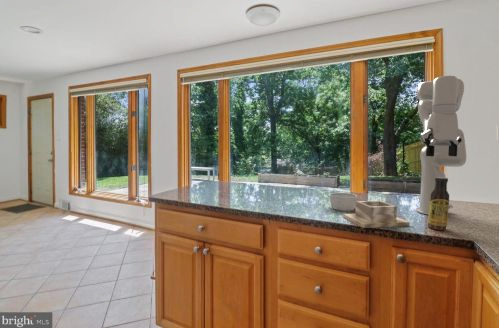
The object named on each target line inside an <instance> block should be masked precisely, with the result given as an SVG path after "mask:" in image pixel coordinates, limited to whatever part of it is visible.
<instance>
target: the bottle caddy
mask: <svg viewBox="0 0 499 328" xmlns="http://www.w3.org/2000/svg"><path fill="white" fill-rule="evenodd" d="M397 208H398V206H397V205H394V204H392V203H391V204H390V203H389V202H385V201H382V200H362V201H361V200H360V201H358V200H356V207H355V209H354V210H355V211H354V213H344V214H343V218H344V219H345V220H347V221H349V222H351V223H354V224H355V225H357V226H359V227H360V228H362V229H372V228H373V229H374V228H375V229H377V228H389V227H390V228H391V227H392V228H393V227H410V225H411V222H410V221H408V220H406V219H403V218H401V217H398V216H397V211H398V210H397Z"/></svg>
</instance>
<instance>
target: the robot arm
mask: <svg viewBox="0 0 499 328" xmlns="http://www.w3.org/2000/svg"><path fill="white" fill-rule="evenodd" d="M464 93H465V84H464V81H463V80H462V79H460V78H458V77H457V76H455V75H442V76H438V77H436V78H434V79H433V80H430V81H429V80H428V81H422V82H419V83H418V85H417V89H416V97H417V100H418V101H419V102H418V104H417V111H418V117H419V119H420V122H421V124H422V126H423V131H422V132H421V133H420V137H421V139H422V142H423V144H424V147H422V148H421V150H420V153H419V155H420V156H419V157H420V164H421V180H420V201H419V203H420V204H419V207H416V209H415V211H416V212H417V213H420V214H423V215H427V216H428V215H429V204H430V198H431V193H432V192H433V190H434V189H435V177H443V178H447V177H446V174H445V173H444V171H443V170H442V169H440V167H452V168H453V167H454V168H456V167H457V168H459V167H463V166H464V165H465V164H466V163H467V147H466V140H465V139H466V138H465V134H464V131H463V130H462V129H460V128H459V120H458V115H457V112H458V111H459V110H460V107H461V105H462V100H463V96H464ZM453 208H454V206H453V204H452V203H451V204H450V203H449V209H450V210H451V209H453Z"/></svg>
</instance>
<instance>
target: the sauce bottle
mask: <svg viewBox="0 0 499 328" xmlns="http://www.w3.org/2000/svg"><path fill="white" fill-rule="evenodd" d="M448 182H449V178H448V177H446V178H443V177H435V189H434V190H433V192H432V193H431V198H430V204H429V215H427V216H428V218H427V223H428V224H427V226H428V228H429V229H432V230H435V231H445V230H446V229H447V226H448V217H449V205H450V194H449V192H448V187H447V186H448Z"/></svg>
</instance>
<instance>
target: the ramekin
mask: <svg viewBox="0 0 499 328" xmlns="http://www.w3.org/2000/svg"><path fill="white" fill-rule="evenodd" d="M329 198H330V199H329V200H330V201H329V202H330V207H331V208H332V209H333V210H335V211H342V212H350V211H351V212H352V211H354V210H356V201H358V195H357V194H354V193H348V192H332V193H329Z"/></svg>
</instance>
